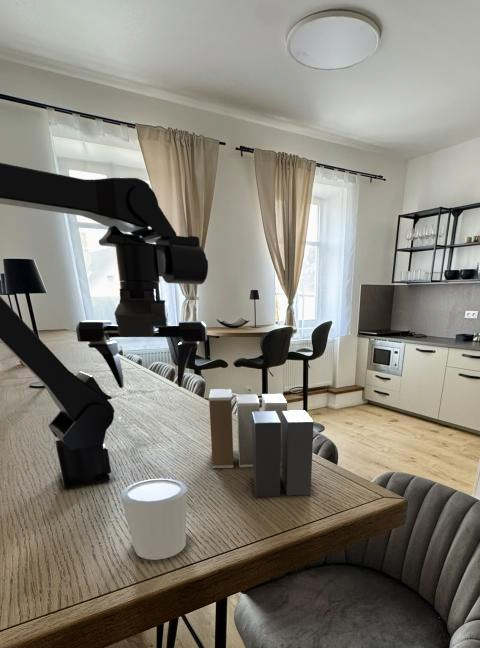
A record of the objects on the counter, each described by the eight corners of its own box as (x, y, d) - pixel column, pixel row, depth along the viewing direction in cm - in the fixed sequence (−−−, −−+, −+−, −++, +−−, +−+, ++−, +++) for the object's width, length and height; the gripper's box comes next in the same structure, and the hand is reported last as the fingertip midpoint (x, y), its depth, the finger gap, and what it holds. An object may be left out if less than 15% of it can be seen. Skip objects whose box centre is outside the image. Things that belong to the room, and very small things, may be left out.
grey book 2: (287, 495, 59) (288, 422, 55) (281, 478, 65) (282, 410, 61) (310, 494, 60) (313, 421, 56) (302, 477, 66) (305, 410, 62)
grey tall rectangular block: (239, 467, 70) (237, 403, 66) (238, 453, 76) (236, 394, 72) (260, 466, 70) (259, 403, 66) (256, 452, 76) (256, 394, 72)
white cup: (202, 536, 49) (198, 482, 46) (169, 568, 43) (163, 508, 40) (153, 526, 51) (147, 474, 48) (115, 555, 45) (106, 497, 42)
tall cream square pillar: (212, 468, 69) (208, 397, 65) (213, 454, 76) (210, 389, 71) (233, 467, 69) (231, 397, 65) (233, 453, 76) (230, 388, 71)
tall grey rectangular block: (255, 497, 59) (255, 423, 55) (252, 479, 65) (251, 411, 61) (280, 496, 59) (280, 422, 55) (275, 478, 65) (275, 411, 61)
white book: (265, 466, 70) (265, 402, 66) (262, 452, 77) (261, 394, 73) (286, 465, 71) (287, 402, 67) (280, 452, 77) (281, 393, 73)
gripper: (52, 277, 53) (74, 398, 58) (200, 280, 55) (207, 396, 61) (80, 282, 63) (96, 384, 69) (204, 284, 65) (209, 383, 71)
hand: (151, 387), depth 67 cm, fingers open, 9 cm apart
